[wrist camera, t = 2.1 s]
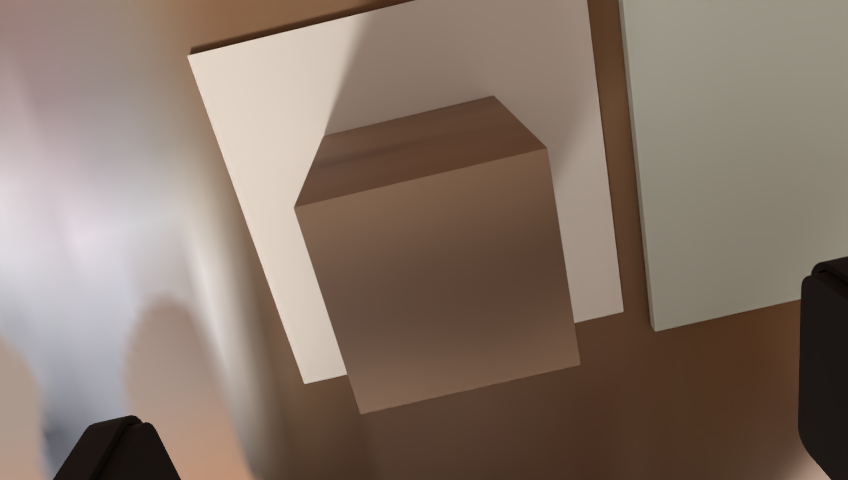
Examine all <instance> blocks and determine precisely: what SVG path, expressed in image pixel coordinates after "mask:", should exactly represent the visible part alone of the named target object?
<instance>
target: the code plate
mask: <svg viewBox="0 0 848 480" xmlns="http://www.w3.org/2000/svg"><path fill="white" fill-rule="evenodd" d="M187 57H188V60H189V62H190V65H191V68H192V71H193V74H194V76H195V79H196V82H197V85H198V88H199V90H200V93H201V96H202V99H203V102H204V104H205V107H206V110H207V113H208V116H209V118H210V121H211V124H212V127H213V129H214V132H215V135H216V138H217V141H218V143H219V146H220V149H221V152H222V155H223V157H224V160H225V163H226V166H227V169H228V171H229V174H230V177H231V180H232V183H233V185H234V188H235V191H236V194H237V197H238V199H239V202H240V205H241V208H242V211H243V213H244V216H245V219H246V222H247V225H248V227H249V230H250V233H251V236H252V239H253V241H254V244H255V247H256V250H257V253H258V255H259V258H260V261H261V264H262V267H263V269H264V272H265V275H266V278H267V281H268V283H269V286H270V289H271V292H272V295H273V297H274V300H275V303H276V306H277V309H278V311H279V314H280V317H281V320H282V323H283V325H284V328H285V331H286V334H287V337H288V339H289V342H290V345H291V348H292V351H293V353H294V356H295V359H296V362H297V365H298V367H299V370H300V373H301V376H302V379H303V381H304V384H307V383H312V382H316V381H320V380H325V379H329V378H334V377H338V376H342V375H347V371H346V368H345V365H344V362H343V359H342V356H341V353H340V350H339V347H338V344H337V340H336V337H335V334H334V331H333V328H332V325H331V322H330V319H329V316H328V313H327V310H326V306H325V303H324V300H323V297H322V294H321V291H320V288H319V285H318V282H317V279H316V276H315V272H314V269H313V266H312V263H311V260H310V257H309V254H308V251H307V248H306V245H305V242H304V238H303V235H302V232H301V229H300V226H299V223H298V220H297V217H296V214H295V211H294V205H295V203H296V201H297V198H298V196H299V193H300V191H301V189H302V186H303V184H304V181H305V179H306V176H307V174H308V172H309V169H310V167H311V164H312V162H313V160H314V157H315V155H316V152H317V150H318V148H319V145H320V143H321V140H322V138H323V136H325V135H330V134H334V133H338V132H342V131H346V130H351V129H355V128H359V127H363V126H367V125H372V124H376V123H380V122H384V121H388V120H393V119H397V118H401V117H405V116H409V115H414V114H418V113H422V112H426V111H430V110H435V109H439V108H443V107H447V106H451V105H456V104H460V103H464V102H468V101H472V100H477V99H481V98H485V97H489V96H493V95H494V96H495V97H496V98H497V99H498V100H499V101H500V102H501V103H502V104H503V105H504V106H505V107H506V108H507V109H508V110H509V111H510V112H511V113H512V114H513V115H514V116H515V117H516V118H517V119H518V120H519V121H520V122H521V123H522V124H523V125H524V126H525V127H526V128H527V129H529V130H530V131H531V132H532V133H533V134H534V135H535V136H536V137H537V138H538V139H539V140H540V141H541V142H542V143H543V144H544V145H545V146H546V147H547V148H548V155H549V161H550V168H551V174H552V181H553V187H554V194H555V200H556V207H557V213H558V220H559V226H560V233H561V239H562V246H563V252H564V259H565V265H566V272H567V278H568V285H569V291H570V298H571V304H572V311H573V317H574V323H576V322H581V321H585V320H590V319H594V318H599V317H603V316H607V315H612V314H616V313H621V312H624V310H623V301H622V293H621V284H620V276H619V267H618V259H617V250H616V242H615V233H614V225H613V217H612V208H611V200H610V191H609V183H608V174H607V166H606V157H605V149H604V140H603V132H602V123H601V115H600V107H599V98H598V90H597V81H596V73H595V64H594V56H593V47H592V39H591V30H590V22H589V13H588V5H587V0H414V1H410V2H406V3H402V4H398V5H393V6H389V7H385V8H381V9H377V10H373V11H369V12H365V13H361V14H356V15H352V16H348V17H344V18H340V19H336V20H332V21H328V22H324V23H320V24H315V25H311V26H307V27H303V28H299V29H295V30H291V31H287V32H283V33H278V34H274V35H270V36H266V37H262V38H258V39H254V40H250V41H246V42H242V43H237V44H233V45H229V46H225V47H221V48H217V49H213V50H209V51H205V52H200V53H196V54H192V55H188V56H187Z"/></svg>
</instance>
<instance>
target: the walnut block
mask: <svg viewBox="0 0 848 480" xmlns="http://www.w3.org/2000/svg"><path fill="white" fill-rule="evenodd" d="M294 211H295V214H296V217H297V220H298V223H299V226H300V229H301V232H302V235H303V238H304V242H305V245H306V248H307V251H308V254H309V257H310V260H311V263H312V266H313V269H314V272H315V276H316V279H317V282H318V285H319V288H320V291H321V294H322V297H323V300H324V303H325V306H326V310H327V313H328V316H329V319H330V322H331V325H332V328H333V331H334V334H335V337H336V340H337V344H338V347H339V350H340V353H341V356H342V359H343V362H344V365H345V368H346V371H347V374H348V378H349V381H350V384H351V387H352V390H353V393H354V396H355V399H356V402H357V405H358V408H359V412H360V414H364V413H369V412H373V411H378V410H382V409H387V408H391V407H396V406H400V405H405V404H409V403H414V402H418V401H422V400H427V399H431V398H436V397H440V396H445V395H449V394H454V393H458V392H463V391H467V390H471V389H476V388H480V387H485V386H489V385H494V384H498V383H503V382H507V381H512V380H516V379H520V378H525V377H529V376H534V375H538V374H543V373H547V372H552V371H556V370H561V369H565V368H569V367H574V366H578V365H581V363H580V357H579V350H578V344H577V337H576V331H575V324H574V317H573V311H572V304H571V298H570V291H569V285H568V278H567V272H566V265H565V259H564V252H563V246H562V239H561V233H560V226H559V220H558V213H557V207H556V200H555V194H554V187H553V181H552V174H551V168H550V161H549V155H548V148H547V147H546V146H545V145H544V144H543V143H542V142H541V141H540V140H539V139H538V138H537V137H536V136H535V135H534V134H533V133H532V132H531V131H530V130H529V129H527V128H526V127H525V126H524V125H523V124H522V123H521V122H520V121H519V120H518V119H517V118H516V117H515V116H514V115H513V114H512V113H511V112H510V111H509V110H508V109H507V108H506V107H505V106H504V105H503V104H502V103H501V102H500V101H499V100H498V99H497V98H496V97H495V96H494V95H493V96H489V97H485V98H481V99H477V100H472V101H468V102H464V103H460V104H456V105H451V106H447V107H443V108H439V109H435V110H430V111H426V112H422V113H418V114H414V115H409V116H405V117H401V118H397V119H393V120H388V121H384V122H380V123H376V124H372V125H367V126H363V127H359V128H355V129H351V130H346V131H342V132H338V133H334V134H330V135H325V136H323V138H322V140H321V143H320V145H319V148H318V150H317V152H316V155H315V157H314V160H313V162H312V164H311V167H310V169H309V172H308V174H307V176H306V179H305V181H304V184H303V186H302V189H301V191H300V193H299V196H298V198H297V201H296V203H295V205H294Z"/></svg>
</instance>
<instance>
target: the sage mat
mask: <svg viewBox="0 0 848 480" xmlns="http://www.w3.org/2000/svg"><path fill="white" fill-rule="evenodd" d="M618 2H619V12H620V22H621V32H622V42H623V52H624V62H625V72H626V82H627V92H628V102H629V112H630V122H631V132H632V142H633V152H634V162H635V172H636V182H637V192H638V202H639V212H640V222H641V232H642V242H643V252H644V262H645V272H646V282H647V291H648V301H649V311H650V321H651V327H652V328H653V329H654V331H655V332H656V331H661V330H665V329H670V328H674V327H679V326H683V325H687V324H692V323H696V322H701V321H705V320H710V319H714V318H719V317H723V316H727V315H732V314H736V313H741V312H745V311H750V310H754V309H758V308H763V307H767V306H772V305H776V304H781V303H785V302H790V301H794V300H798V299H801V285H802V281H803V279H804V278H805V277H806V276H809V275H811V271H812V269H813V267H814V265H816V264H817V263H819V262H823V261H828V260H832V259H837V258H841V257H846V256H848V0H618Z"/></svg>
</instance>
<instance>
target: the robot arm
mask: <svg viewBox="0 0 848 480" xmlns="http://www.w3.org/2000/svg"><path fill="white" fill-rule="evenodd" d="M798 430H799V435H800V438H801V441H802V443H803V445H804V447H805V449H806V450H807V452H808V453H809V454H810V456H811V457H812V458H813V459H814V460H815V461H816V463H817V464H818V465H819V466H820V467H821V468H822V469H823V471H824V472H825V473H826V474H827V475H828V476H829V478H830V479H831V480H848V256H846V257H841V258H837V259H832V260H828V261H823V262H819V263H817V264H816V265H814V267H813V269H812V271H811V275H809V276H806V277H805V278H804V279H803V281H802V285H801V315H800V361H799V407H798ZM53 480H181V479H180V477H179V475H178V473H177V471H176V469H175V467H174V465H173V463H172V461H171V459H170V457H169V455H168V453H167V451H166V449H165V447H164V445H163V443H162V441H161V439H160V437H159V435H158V433H157V431H156V429H155V428H154V427H153V425H152V424H150V423H147V422H145V423H142V421H141V420H140V419H139V418H138V417H136V416H132V415H130V416H125V417H121V418H116V419H112V420H107V421H103V422H98V423H94V424H92V425H90V426H89V427H88V428H87V429H86V430H85V431H84V433H83V435H82V436H81V438H80V439H79V441H78V442H77V444H76V445H75V447H74V448H73V450H72V451H71V453H70V454H69V456H68V458H67V459H66V461H65V462H64V464H63V465H62V467H61V468H60V470H59V471H58V473H57V474H56V476H55V477H54V479H53Z"/></svg>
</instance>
